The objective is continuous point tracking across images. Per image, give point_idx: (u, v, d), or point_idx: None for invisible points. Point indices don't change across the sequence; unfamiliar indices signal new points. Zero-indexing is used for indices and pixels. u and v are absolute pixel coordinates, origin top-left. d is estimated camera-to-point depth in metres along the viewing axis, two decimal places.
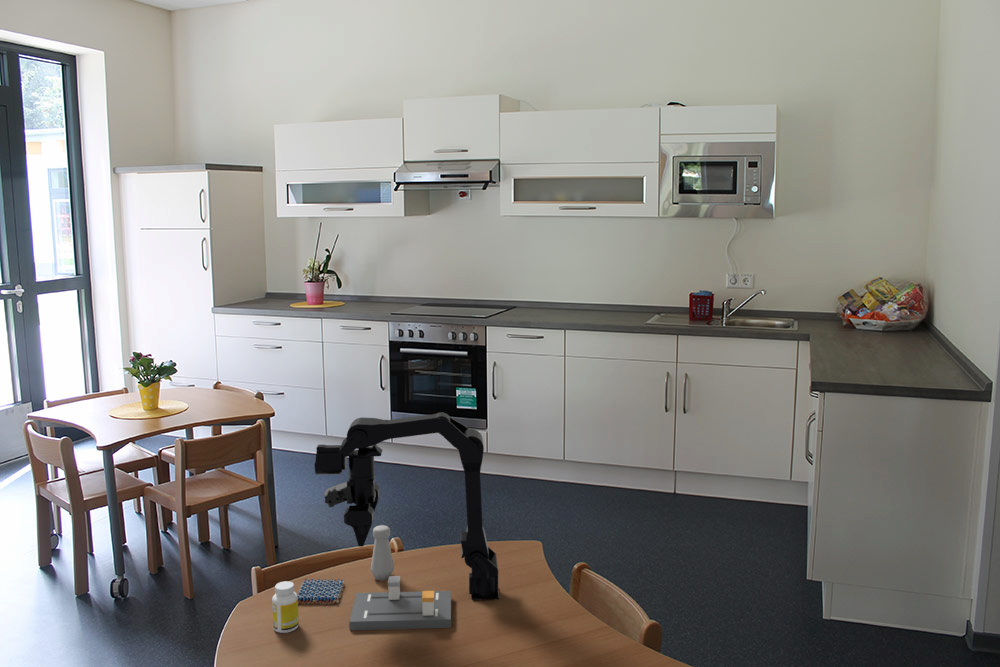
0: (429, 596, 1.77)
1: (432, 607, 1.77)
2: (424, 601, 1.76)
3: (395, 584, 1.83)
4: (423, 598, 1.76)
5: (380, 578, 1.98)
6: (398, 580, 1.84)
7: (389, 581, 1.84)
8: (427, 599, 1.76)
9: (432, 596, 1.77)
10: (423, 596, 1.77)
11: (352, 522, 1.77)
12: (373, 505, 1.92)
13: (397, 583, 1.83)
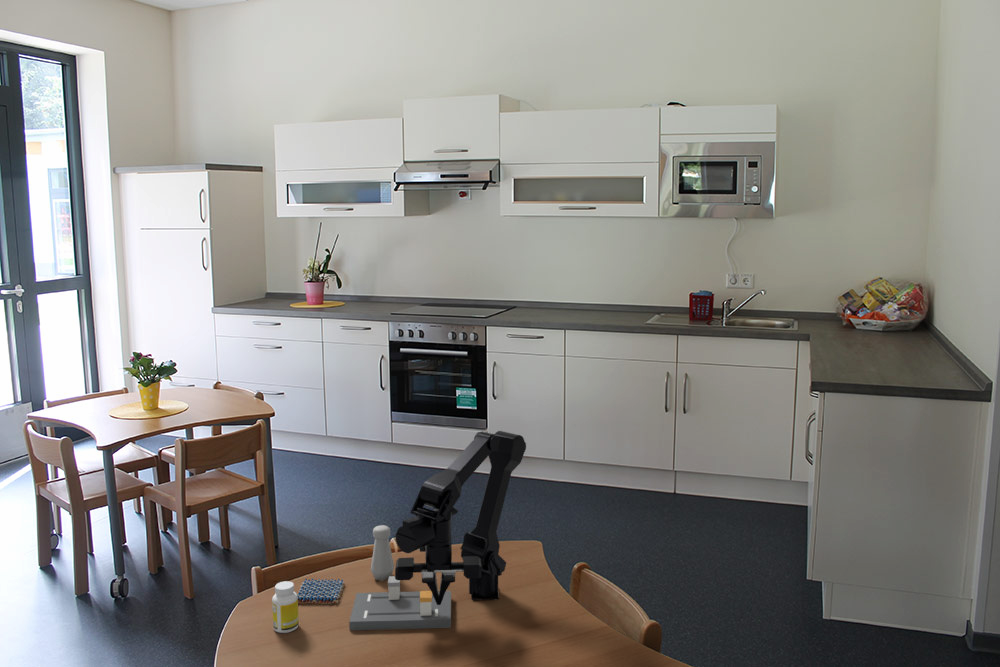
0: (427, 596, 1.77)
1: (430, 607, 1.77)
2: (422, 601, 1.76)
3: (395, 584, 1.83)
4: (421, 598, 1.76)
5: (380, 578, 1.98)
6: (398, 580, 1.84)
7: (389, 581, 1.84)
8: (425, 599, 1.76)
9: (430, 596, 1.77)
10: (421, 596, 1.77)
11: None
12: (441, 582, 1.75)
13: (397, 583, 1.83)
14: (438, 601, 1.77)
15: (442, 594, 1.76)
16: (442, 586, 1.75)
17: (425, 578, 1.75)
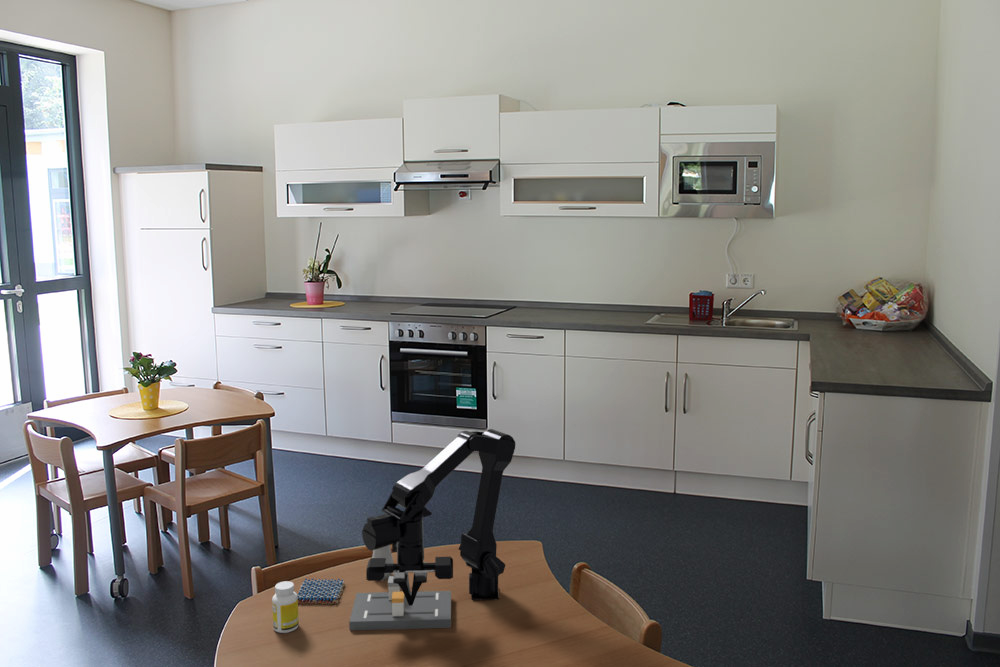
0: (399, 597, 1.77)
1: (402, 608, 1.76)
2: (394, 602, 1.76)
3: (395, 584, 1.83)
4: (393, 599, 1.76)
5: None
6: None
7: (389, 581, 1.84)
8: (397, 600, 1.76)
9: (402, 597, 1.77)
10: (393, 597, 1.76)
11: None
12: None
13: None
14: (410, 602, 1.77)
15: (414, 595, 1.76)
16: (414, 586, 1.75)
17: (396, 578, 1.75)
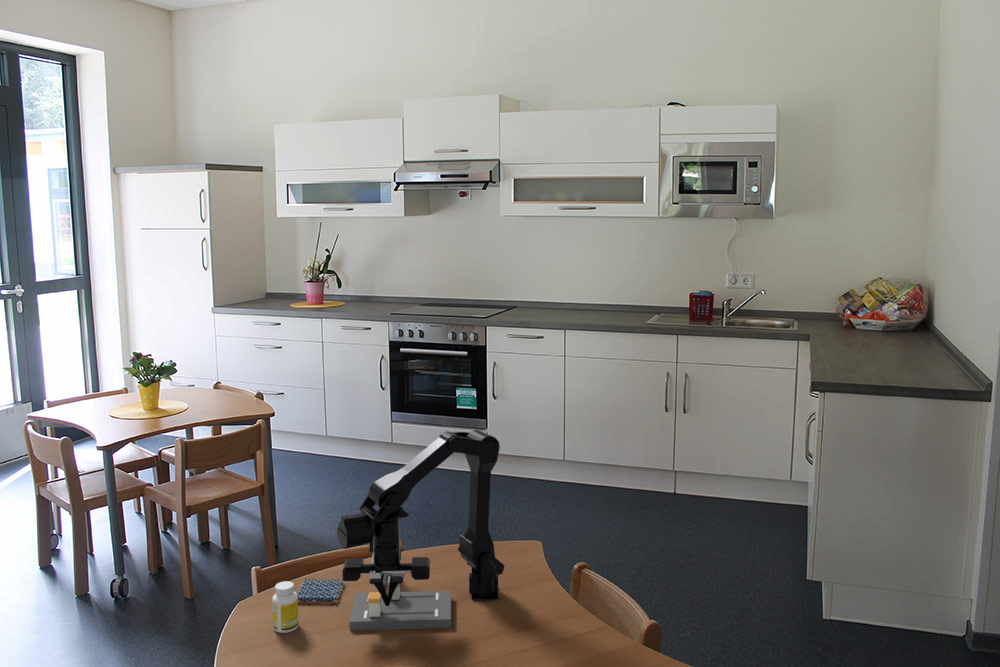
0: (375, 597, 1.76)
1: (378, 608, 1.76)
2: (370, 602, 1.76)
3: None
4: (369, 599, 1.76)
5: None
6: None
7: None
8: (373, 600, 1.76)
9: (378, 597, 1.76)
10: (369, 597, 1.76)
11: None
12: None
13: None
14: (386, 602, 1.77)
15: (390, 595, 1.76)
16: (390, 587, 1.74)
17: (373, 579, 1.74)
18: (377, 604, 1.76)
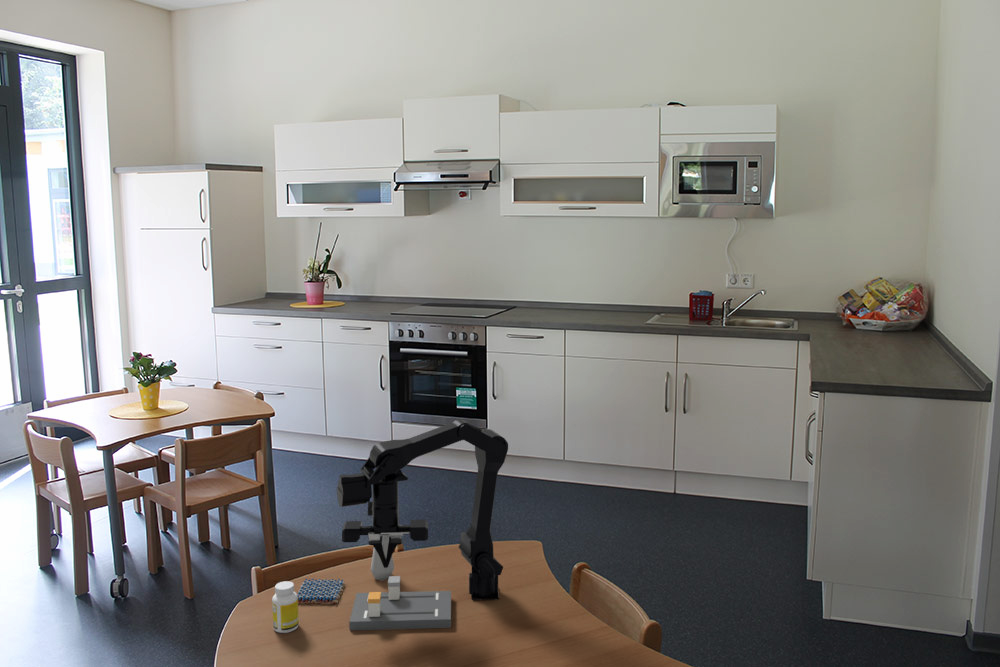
0: (375, 597, 1.76)
1: (378, 608, 1.76)
2: (370, 602, 1.76)
3: (395, 584, 1.83)
4: (369, 599, 1.76)
5: (380, 578, 1.98)
6: (398, 580, 1.84)
7: (389, 581, 1.84)
8: (373, 600, 1.76)
9: (378, 597, 1.76)
10: (369, 597, 1.76)
11: None
12: (388, 545, 1.77)
13: (397, 583, 1.83)
14: (385, 564, 1.79)
15: (389, 556, 1.78)
16: (389, 548, 1.77)
17: (372, 540, 1.77)
18: (377, 604, 1.76)
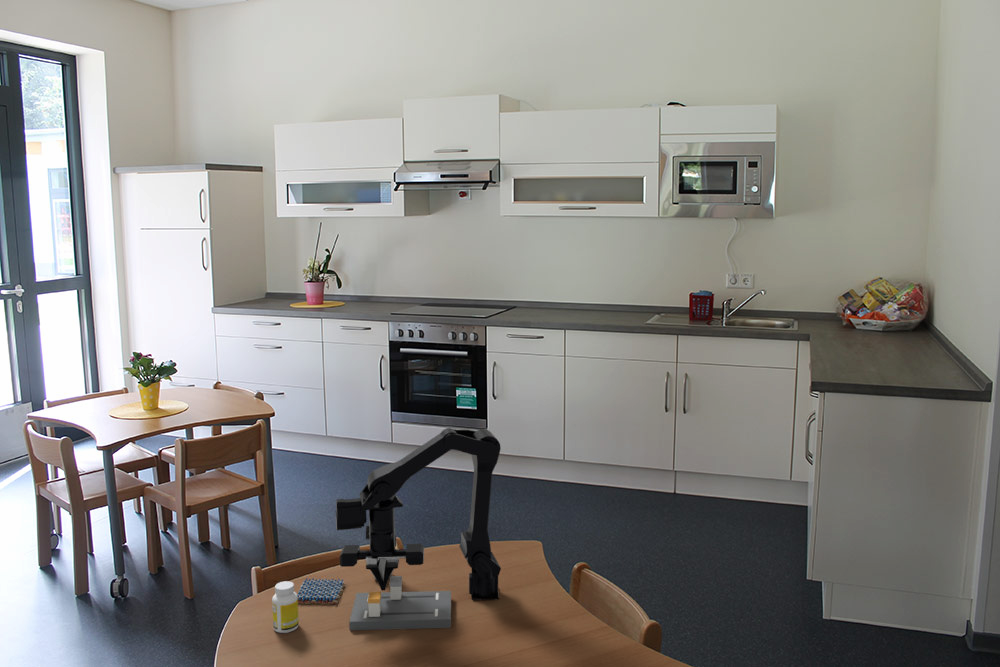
0: (375, 597, 1.76)
1: (378, 608, 1.76)
2: (370, 602, 1.76)
3: (397, 584, 1.83)
4: (369, 599, 1.76)
5: None
6: (400, 580, 1.84)
7: (391, 581, 1.84)
8: (373, 600, 1.76)
9: (378, 597, 1.76)
10: (369, 597, 1.76)
11: None
12: None
13: (399, 583, 1.83)
14: (382, 587, 1.84)
15: (386, 580, 1.83)
16: (385, 572, 1.82)
17: (369, 564, 1.82)
18: (377, 604, 1.76)
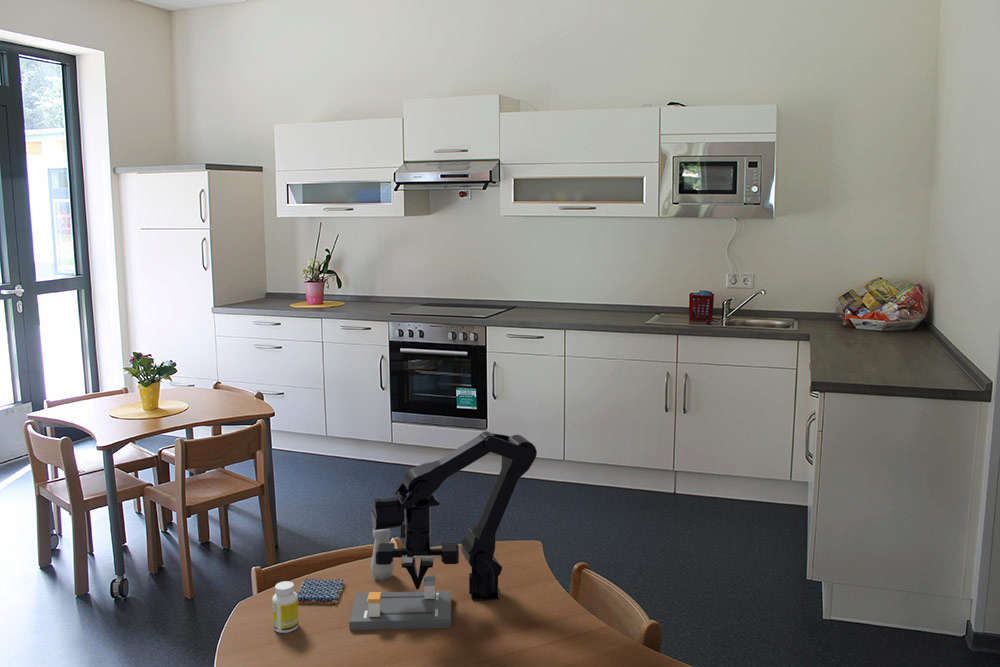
0: (375, 597, 1.76)
1: (378, 608, 1.76)
2: (370, 602, 1.76)
3: (431, 583, 1.84)
4: (369, 599, 1.76)
5: (380, 578, 1.98)
6: (434, 579, 1.85)
7: (425, 580, 1.84)
8: (373, 600, 1.76)
9: (378, 597, 1.76)
10: (369, 597, 1.76)
11: None
12: (419, 567, 1.83)
13: (433, 582, 1.84)
14: (416, 585, 1.84)
15: (420, 579, 1.83)
16: (420, 571, 1.82)
17: (405, 563, 1.82)
18: (377, 604, 1.76)
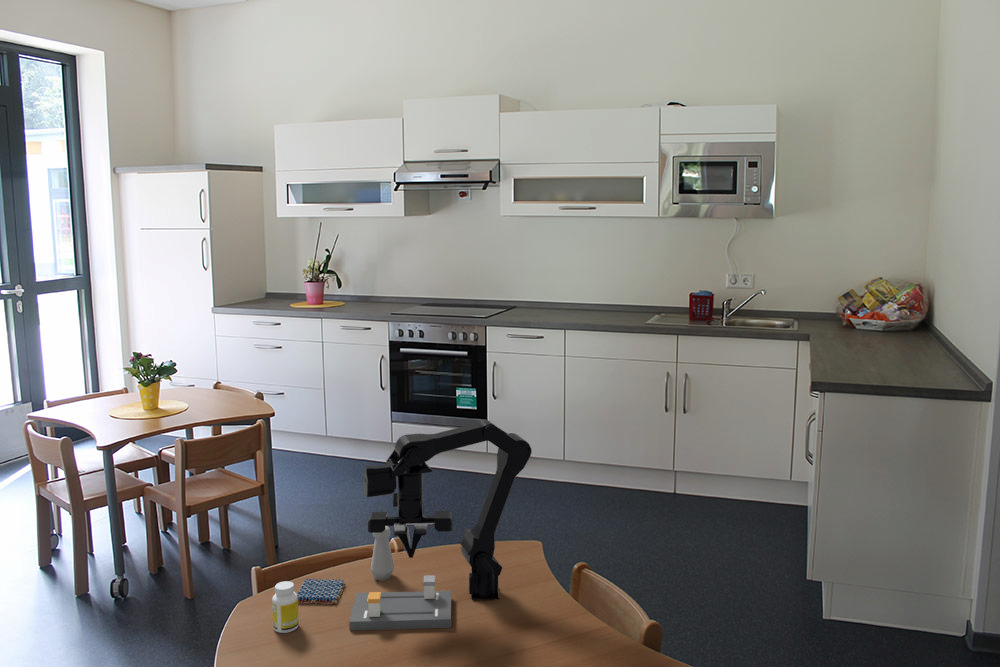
0: (375, 597, 1.76)
1: (378, 608, 1.76)
2: (370, 602, 1.76)
3: (430, 583, 1.84)
4: (369, 599, 1.76)
5: (380, 578, 1.98)
6: (433, 579, 1.85)
7: (424, 580, 1.84)
8: (373, 600, 1.76)
9: (378, 597, 1.76)
10: (369, 597, 1.76)
11: None
12: (413, 535, 1.81)
13: (432, 582, 1.84)
14: (410, 554, 1.83)
15: (414, 547, 1.82)
16: (414, 539, 1.80)
17: (397, 531, 1.80)
18: (377, 604, 1.76)
